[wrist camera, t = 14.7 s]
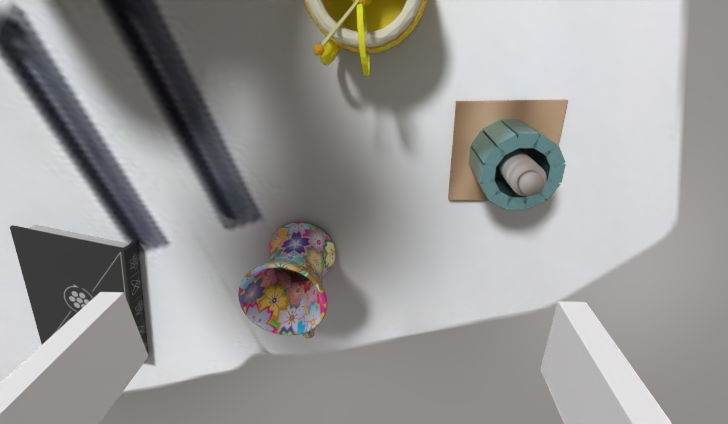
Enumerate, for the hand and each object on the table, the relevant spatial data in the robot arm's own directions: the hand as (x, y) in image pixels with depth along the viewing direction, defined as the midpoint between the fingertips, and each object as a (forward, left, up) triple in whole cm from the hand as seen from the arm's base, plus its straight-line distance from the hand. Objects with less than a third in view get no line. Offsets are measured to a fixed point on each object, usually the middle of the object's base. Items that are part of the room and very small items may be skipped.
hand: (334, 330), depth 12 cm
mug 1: (-9, -18, -32) cm, 38 cm away
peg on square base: (+14, -4, -32) cm, 35 cm away
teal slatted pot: (+14, -4, -31) cm, 34 cm away
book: (-41, -25, -32) cm, 58 cm away
